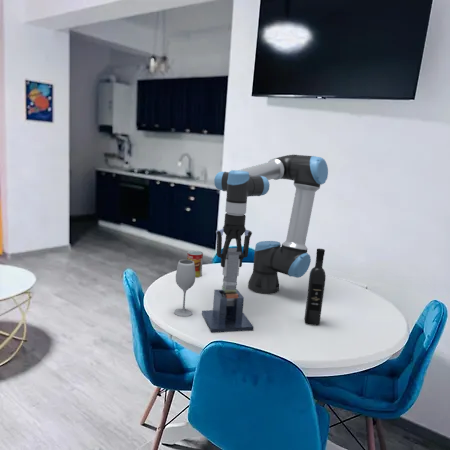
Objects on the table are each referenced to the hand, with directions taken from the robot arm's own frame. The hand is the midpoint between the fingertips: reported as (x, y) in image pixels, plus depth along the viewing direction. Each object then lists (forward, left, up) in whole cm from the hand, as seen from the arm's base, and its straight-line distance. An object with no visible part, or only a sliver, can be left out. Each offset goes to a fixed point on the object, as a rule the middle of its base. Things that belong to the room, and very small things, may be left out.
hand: (230, 275), depth 150 cm
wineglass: (+15, -10, -19) cm, 26 cm away
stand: (0, 0, -19) cm, 19 cm away
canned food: (+2, -55, -19) cm, 58 cm away
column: (0, 0, -11) cm, 11 cm away
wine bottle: (-34, +4, -19) cm, 39 cm away
